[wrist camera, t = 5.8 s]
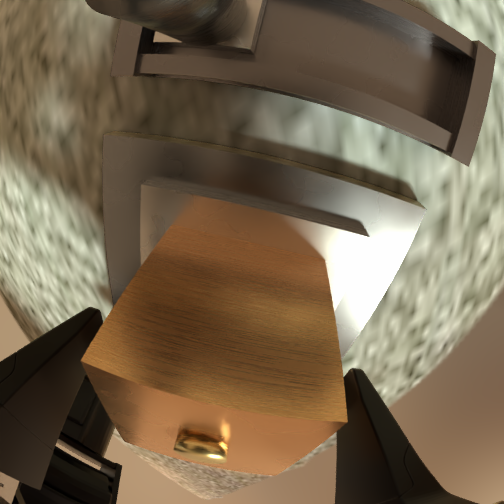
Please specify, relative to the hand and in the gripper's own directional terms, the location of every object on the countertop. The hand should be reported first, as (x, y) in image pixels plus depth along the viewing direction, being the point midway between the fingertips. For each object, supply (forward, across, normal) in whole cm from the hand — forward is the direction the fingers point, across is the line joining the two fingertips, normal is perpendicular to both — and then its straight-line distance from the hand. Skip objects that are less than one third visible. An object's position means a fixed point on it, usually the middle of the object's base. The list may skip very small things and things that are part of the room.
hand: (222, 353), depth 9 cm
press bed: (+4, 0, 0) cm, 4 cm away
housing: (+3, 0, 0) cm, 3 cm away
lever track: (+4, 0, -10) cm, 11 cm away
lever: (+3, +3, -10) cm, 11 cm away
